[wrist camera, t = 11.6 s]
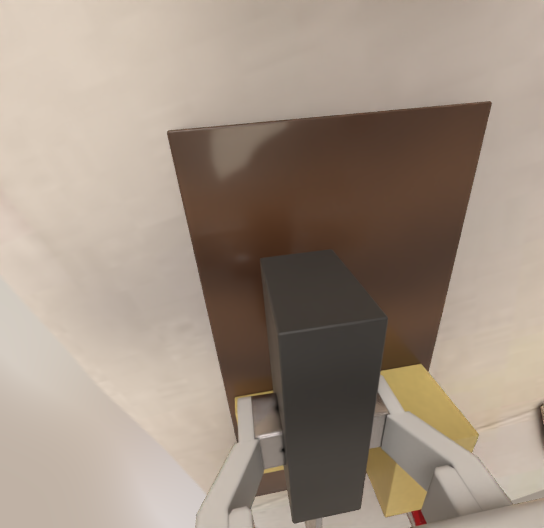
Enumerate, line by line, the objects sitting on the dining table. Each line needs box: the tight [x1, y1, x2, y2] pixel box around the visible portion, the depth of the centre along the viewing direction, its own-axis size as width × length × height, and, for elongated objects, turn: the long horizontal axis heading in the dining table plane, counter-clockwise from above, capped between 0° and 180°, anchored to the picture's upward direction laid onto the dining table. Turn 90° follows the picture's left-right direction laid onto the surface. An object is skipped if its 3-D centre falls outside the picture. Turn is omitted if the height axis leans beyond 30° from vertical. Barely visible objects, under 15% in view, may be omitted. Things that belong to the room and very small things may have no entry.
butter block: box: [366, 364, 479, 517], centre depth 18 cm, size 7×4×5 cm, turn 5°
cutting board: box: [167, 101, 492, 497], centre depth 19 cm, size 28×14×2 cm, turn 5°
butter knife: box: [260, 249, 388, 528], centre depth 12 cm, size 19×3×4 cm, turn 4°
